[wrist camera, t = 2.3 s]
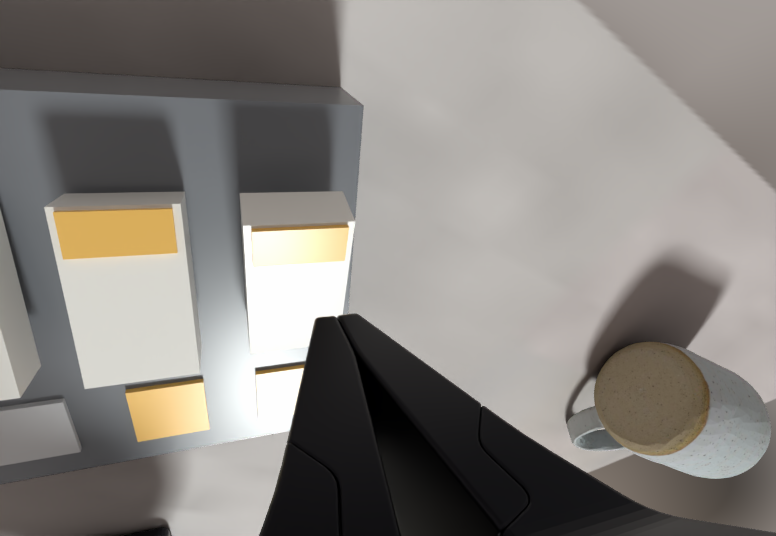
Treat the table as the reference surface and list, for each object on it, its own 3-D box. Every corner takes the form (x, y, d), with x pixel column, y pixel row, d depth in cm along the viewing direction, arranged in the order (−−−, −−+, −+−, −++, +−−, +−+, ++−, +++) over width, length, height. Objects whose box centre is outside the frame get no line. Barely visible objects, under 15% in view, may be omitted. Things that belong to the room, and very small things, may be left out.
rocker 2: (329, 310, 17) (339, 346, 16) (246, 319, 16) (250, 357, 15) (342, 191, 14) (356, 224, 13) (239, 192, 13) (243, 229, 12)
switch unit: (326, 376, 23) (341, 424, 21) (5, 424, 19) (-28, 494, 16) (340, 87, 16) (365, 106, 14) (-165, 58, 12) (-269, 79, 9)
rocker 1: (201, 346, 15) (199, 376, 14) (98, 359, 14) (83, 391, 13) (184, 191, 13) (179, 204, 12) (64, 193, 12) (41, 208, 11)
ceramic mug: (637, 312, 29) (750, 403, 23) (696, 341, 33) (805, 425, 27) (535, 425, 32) (609, 531, 26) (600, 439, 37) (677, 533, 30)
